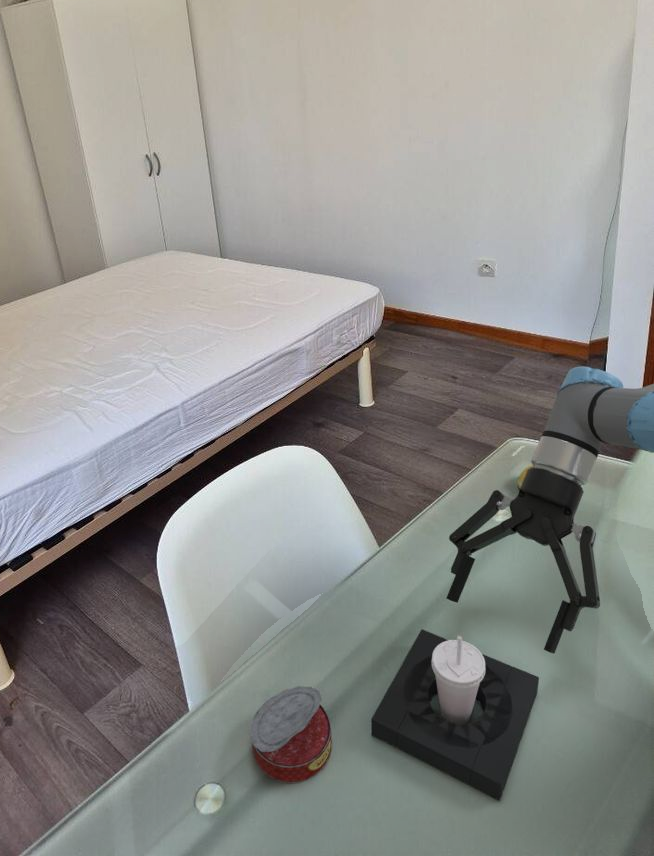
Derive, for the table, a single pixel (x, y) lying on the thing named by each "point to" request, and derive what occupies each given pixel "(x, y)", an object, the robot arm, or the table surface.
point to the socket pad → (452, 742)
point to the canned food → (292, 735)
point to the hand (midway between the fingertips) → (498, 625)
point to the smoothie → (457, 678)
